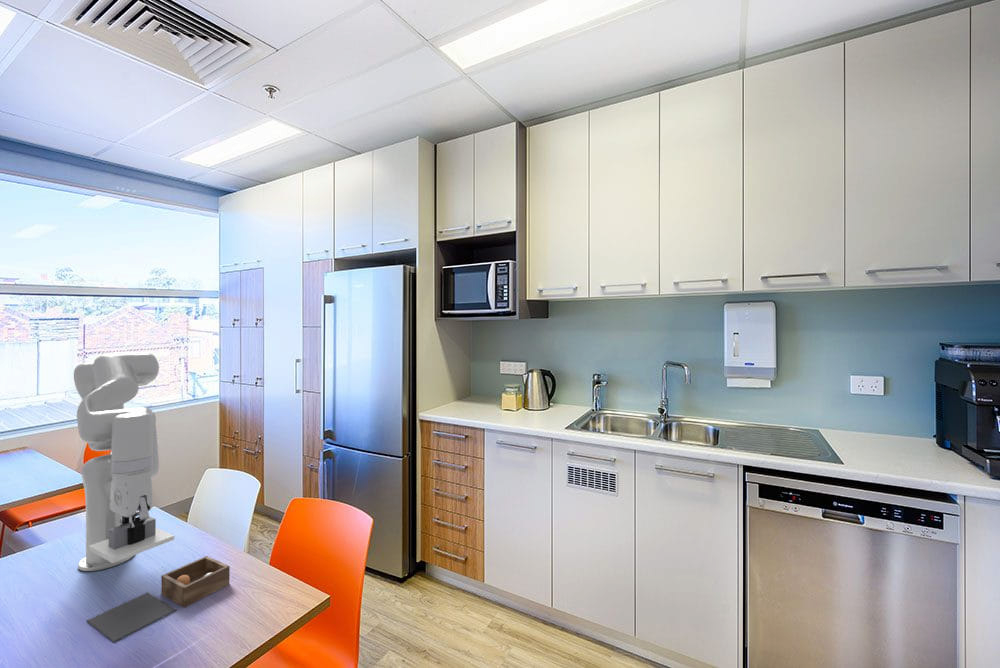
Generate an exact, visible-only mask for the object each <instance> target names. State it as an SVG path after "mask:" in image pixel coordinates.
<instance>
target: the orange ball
mask: <svg viewBox="0 0 1000 668" xmlns="http://www.w3.org/2000/svg"><path fill="white" fill-rule="evenodd" d="M177 581H179V582H181V583H182V584H184V585H188V584H189V583H190V577H189V576H188V575H182V576H180V577H178V578H177Z"/></svg>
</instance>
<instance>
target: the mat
mask: <svg viewBox="0 0 1000 668" xmlns="http://www.w3.org/2000/svg"><path fill="white" fill-rule="evenodd" d="M176 611H177V609H176V608H175V607H173V606H172V605H170V604H169V603H167V602H165V601H163V600H161V599H160V598H158V597H156V596H155V595H153V594H152V593H149V592H146V593H143V594H141V595H139V596H137V597H135V598H133V599H130V600H128V601H126V602H123V603H121V604H119V605H116V606H115V607H112V608H111V609H109V610H107V611H104V612H102V613H99V614H97V615H95V616H92V617H91V618H89V619H87V620H86V623H88V624H89V625H90V626H92V627H93V628H94V629H96V630H97V631H98V632H99V633H101V634H102V635H103V636H104V637H106V638H108V639H109V640H110V641H111V642H113V643H117V642H119V641H120V640H122V639H124V638H126V637H128V636H130V635H132V634H134V633H136V632H138V631H139V630H141V629H143V628H146V627H148V626H149V625H151V624H153V623H155V622H157V621H159V620H161V619H164V617H168V615H171V614H173V613H174V612H176Z"/></svg>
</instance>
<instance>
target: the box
mask: <svg viewBox="0 0 1000 668" xmlns="http://www.w3.org/2000/svg"><path fill="white" fill-rule="evenodd" d="M230 569H231V568H230V565H228V564H225V563H223V562H221V561H219V560H217V559H215V558H212V557H210V556H209V555H205V556H203V557H200V558H198V559H196V560H193V561H192V562H190V563H187V564H185V565H183V566H180V567H178V568H176V569H173V570H171V571H169V572H166V573H165V574H162V575H161V577H160V578H161V579H160V582H161V583H160V584H161V590H160V592H161V593H160V595H161V596H163V597H164V598H166V599H168V600H170V601H171V602H173V603H175V604H176V605H178V606H180V607H182V608H183V609H185V608H186V607H189V606H191V605H192V604H194V603H197V602H199V601H201V600H202V599H203V598H206V597H208V596H210V595H211V594H215V592H218V591H219V590H221V589H223V588H225V587H228V586H229V585H230ZM210 572H213V573H211V574H209V575H207V576H205V575H206V574H207V573H210ZM182 575H188V576H189V577H190V583H189V584H188V585H184V584H182V583H181V582H179V581H177V578H178V577H180V576H182ZM204 576H205V577H204Z"/></svg>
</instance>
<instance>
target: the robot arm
mask: <svg viewBox="0 0 1000 668" xmlns="http://www.w3.org/2000/svg"><path fill="white" fill-rule="evenodd" d="M159 366H160V365H159V362H158V359H157V357H156V356H155V355H154V354H152V353H150V352H145V351H144V352H113V353H106V354H102V355H100V356H98V357H96V358H95V359H94V360H93V361H88V362H83V363H80V364H78V365H77V366H75V368H74V369H73V381H74V386H75V388H76V389H75V390H76V391H77V393H78V394H79V396H80V398H81V401H80V402H79V405H78V407H77V409H76V423H77V428H78V429H77V430H78V434H79V438H81V440H82V441H83V442H85V443H87V445H88V448H89V449H90V450H91V451H95V452H103V451H110V450H111V454H104V455H100V456H96V457H93V458H91V459H88V461H86V462H84V464H83V466H82V468H81V472H80V473H81V479H82V485H83V489H84V490H83V491H84V496H85V557H83V558H82V559H81V560H79V562H78V564H77V565H78V570H80V571H82V572H94V571H95V572H96V571H101V570H105V569H110V568H113V567H115V566H119V565H120V564H123V563H125V562H127V561H129V560H130V559H132V558H133V557H134V556H135V555H133V556H130V557H127V558H125V559H122V560H119V561H117V562H114V563H111V562H109V561H108V560H106V559H104V558H102V557H101V556H99V555H97V554H95V553H93V552H92V551H90V550H89V545H92V544H95V543H98V542H101V541H104V540H107V539H109V529H112V528H115V527H118V526H121V525H124V524H127V523H129V525H130V528H128V544H129V545H132V544H134V543H137V542H140V541H143V540H144V539H145V524H146V519H147V518H149V516H150V513H149V512H150V511H151V510H152V507H153V483H152V478H154V477H155V476H156V475H157V474H158V472H159V468H160V461H159V460H160V459H159V445H158V431H157V426H156V422H157V418H156V413H155V412H153V410H152V409H150V408H149V407H144V406H143V407H131V408H125V407H124V404H125V403H126V404H127V402H128V403H129V402H130V401H132V400H133V399H134V398H135V397H136V396H137V394H138V393H139V387H143V386H147V385H149V384H150V383H151V382H153V381H154V380H155V379H156V378H157V377H158V375H159V372H160V371H159V370H160V367H159Z"/></svg>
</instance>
